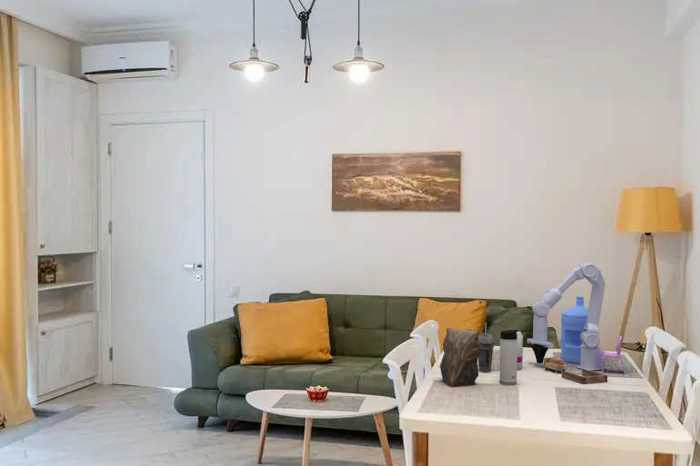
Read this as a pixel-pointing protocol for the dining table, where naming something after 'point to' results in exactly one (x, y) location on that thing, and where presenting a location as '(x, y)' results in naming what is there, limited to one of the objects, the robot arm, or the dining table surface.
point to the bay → (588, 379)
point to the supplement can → (519, 350)
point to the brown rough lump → (460, 357)
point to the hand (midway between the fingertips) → (539, 363)
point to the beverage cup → (485, 351)
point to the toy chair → (614, 355)
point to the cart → (554, 364)
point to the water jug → (573, 331)
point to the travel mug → (508, 357)
